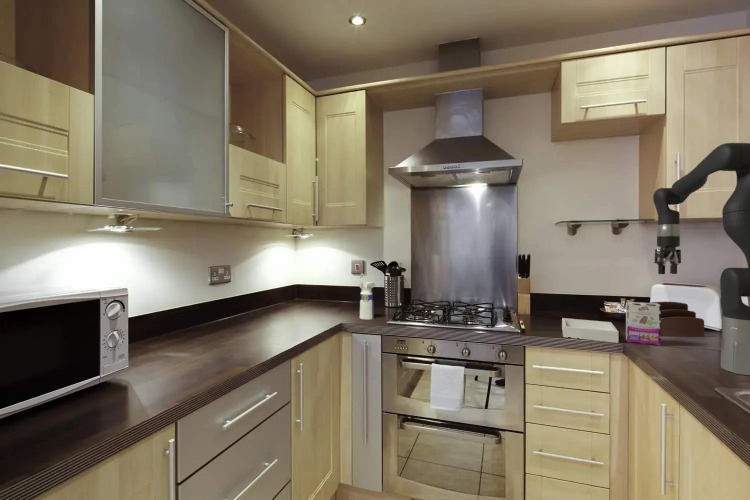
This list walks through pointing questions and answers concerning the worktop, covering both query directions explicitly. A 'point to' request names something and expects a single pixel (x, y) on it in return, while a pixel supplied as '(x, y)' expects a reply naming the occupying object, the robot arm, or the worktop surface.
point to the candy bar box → (643, 323)
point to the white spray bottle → (366, 299)
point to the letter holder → (679, 320)
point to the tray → (589, 330)
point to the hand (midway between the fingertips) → (667, 274)
